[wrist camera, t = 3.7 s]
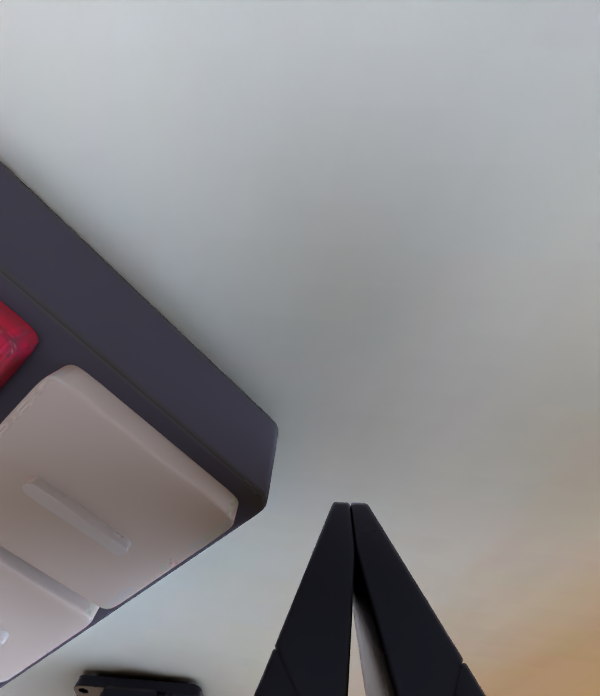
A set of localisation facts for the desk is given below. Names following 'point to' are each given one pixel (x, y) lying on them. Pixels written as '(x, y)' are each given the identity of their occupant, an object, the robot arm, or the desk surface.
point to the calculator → (103, 438)
